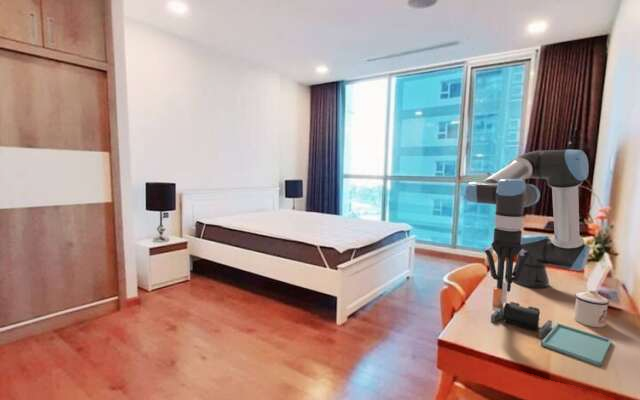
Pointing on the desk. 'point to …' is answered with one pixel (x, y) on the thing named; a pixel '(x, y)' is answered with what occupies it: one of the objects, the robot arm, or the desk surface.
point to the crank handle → (497, 299)
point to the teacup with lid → (591, 309)
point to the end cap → (521, 315)
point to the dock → (542, 330)
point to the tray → (577, 344)
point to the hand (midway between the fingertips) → (502, 300)
